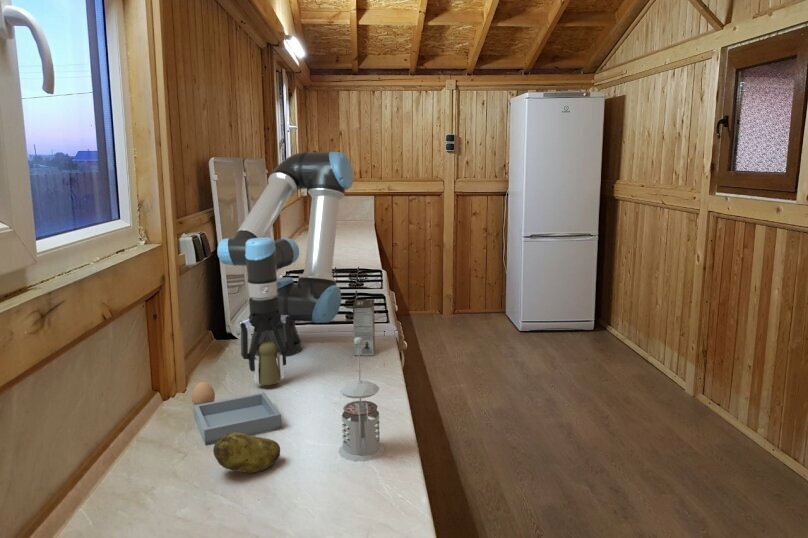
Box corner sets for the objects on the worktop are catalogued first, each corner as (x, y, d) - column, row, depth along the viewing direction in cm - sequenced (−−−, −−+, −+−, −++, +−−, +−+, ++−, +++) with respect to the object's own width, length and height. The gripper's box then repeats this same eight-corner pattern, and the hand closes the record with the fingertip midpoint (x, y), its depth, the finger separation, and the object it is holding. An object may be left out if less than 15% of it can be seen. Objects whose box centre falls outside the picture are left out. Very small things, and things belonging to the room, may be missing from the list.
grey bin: (265, 405, 155) (264, 392, 154) (281, 428, 142) (280, 414, 141) (194, 419, 147) (193, 405, 147) (205, 445, 134) (204, 430, 133)
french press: (381, 437, 137) (379, 329, 132) (389, 463, 125) (386, 345, 121) (336, 441, 135) (333, 332, 130) (340, 467, 124) (336, 348, 119)
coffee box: (355, 347, 200) (354, 299, 197) (375, 346, 200) (374, 299, 197) (353, 356, 191) (352, 306, 188) (374, 356, 191) (373, 306, 188)
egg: (209, 402, 157) (207, 376, 156) (219, 408, 153) (217, 382, 152) (189, 409, 153) (186, 382, 152) (199, 415, 149) (197, 388, 148)
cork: (283, 376, 170) (280, 338, 168) (276, 385, 164) (273, 345, 162) (261, 376, 170) (259, 338, 168) (254, 384, 165) (251, 345, 162)
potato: (282, 475, 121) (280, 437, 120) (214, 484, 118) (211, 445, 117) (280, 455, 129) (278, 420, 128) (216, 463, 126) (213, 427, 125)
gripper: (229, 304, 155) (236, 390, 160) (302, 295, 163) (306, 377, 168) (223, 298, 161) (230, 381, 166) (294, 289, 170) (298, 368, 175)
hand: (268, 379), depth 167 cm, fingers closed on cork, 6 cm apart
